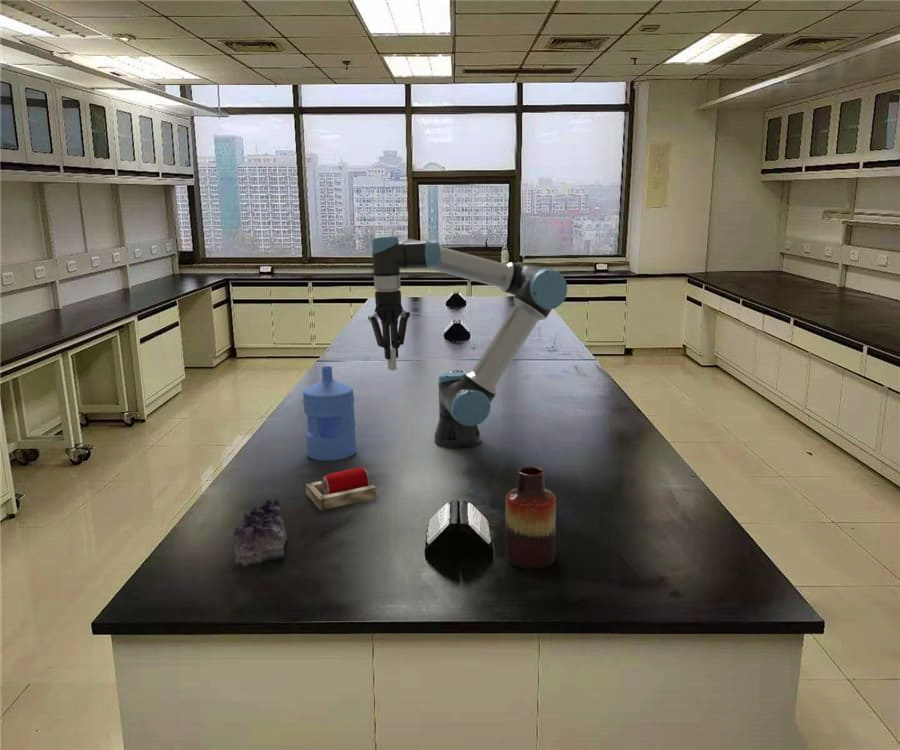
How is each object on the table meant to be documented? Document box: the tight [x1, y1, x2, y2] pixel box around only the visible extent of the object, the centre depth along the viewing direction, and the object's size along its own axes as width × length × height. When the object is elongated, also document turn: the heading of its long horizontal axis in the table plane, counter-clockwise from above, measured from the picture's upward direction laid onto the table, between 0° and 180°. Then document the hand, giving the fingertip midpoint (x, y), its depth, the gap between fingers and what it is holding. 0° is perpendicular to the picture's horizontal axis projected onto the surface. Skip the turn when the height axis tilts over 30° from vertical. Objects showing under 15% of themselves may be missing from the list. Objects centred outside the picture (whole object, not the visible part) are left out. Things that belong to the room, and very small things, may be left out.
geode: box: [233, 499, 288, 568], centre depth 162 cm, size 20×12×10 cm, turn 8°
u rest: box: [305, 480, 377, 511], centre depth 190 cm, size 16×12×3 cm
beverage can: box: [320, 466, 370, 495], centre depth 191 cm, size 6×6×12 cm
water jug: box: [302, 365, 357, 462], centre depth 221 cm, size 16×16×28 cm
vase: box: [505, 466, 557, 570], centre depth 153 cm, size 11×11×20 cm
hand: (392, 369), depth 210 cm, fingers closed
